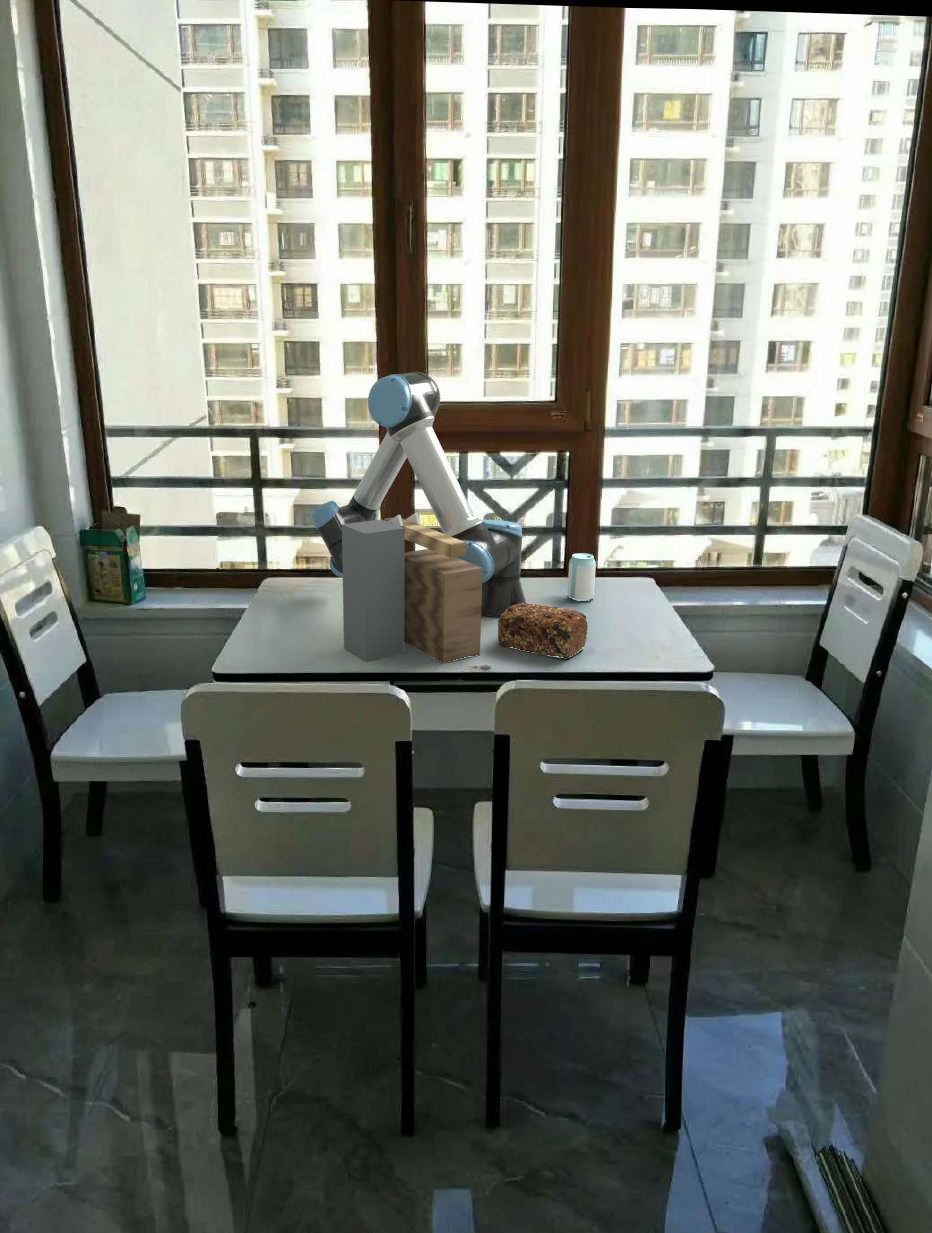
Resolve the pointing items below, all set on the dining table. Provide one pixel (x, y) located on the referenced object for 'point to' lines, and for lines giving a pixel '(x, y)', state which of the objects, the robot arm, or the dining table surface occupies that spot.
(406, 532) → the oak bar
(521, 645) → the bread
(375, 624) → the stand
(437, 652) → the wood grain brick
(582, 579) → the can
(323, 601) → the dining table surface
